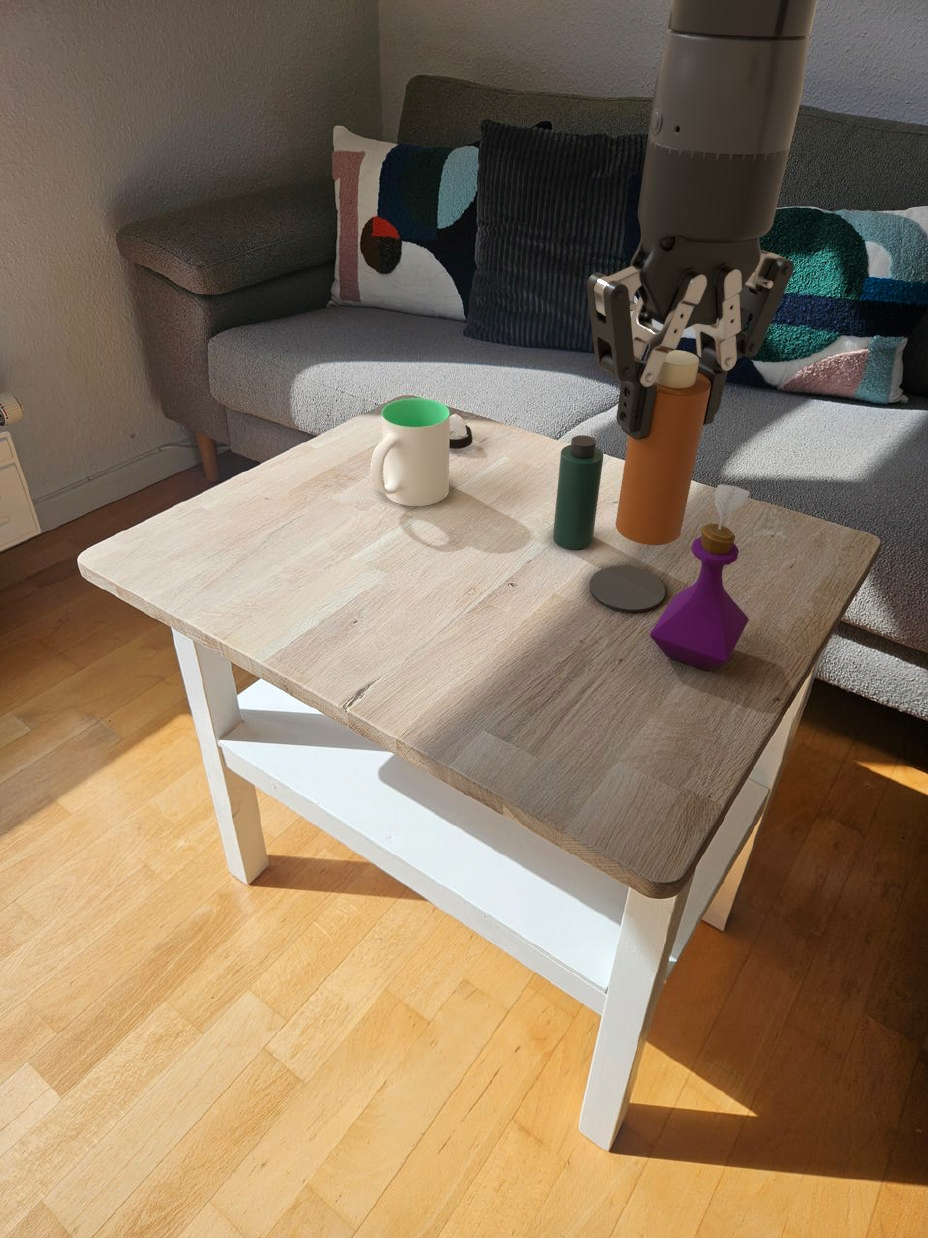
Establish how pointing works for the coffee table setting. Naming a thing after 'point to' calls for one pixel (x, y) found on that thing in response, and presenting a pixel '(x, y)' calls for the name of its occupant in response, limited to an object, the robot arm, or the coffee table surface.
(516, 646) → the coffee table surface
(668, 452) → the amber bottle
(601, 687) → the coffee table surface
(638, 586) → the slate coaster
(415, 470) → the mug
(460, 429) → the watch
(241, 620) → the coffee table surface
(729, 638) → the perfume bottle
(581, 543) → the green bottle
